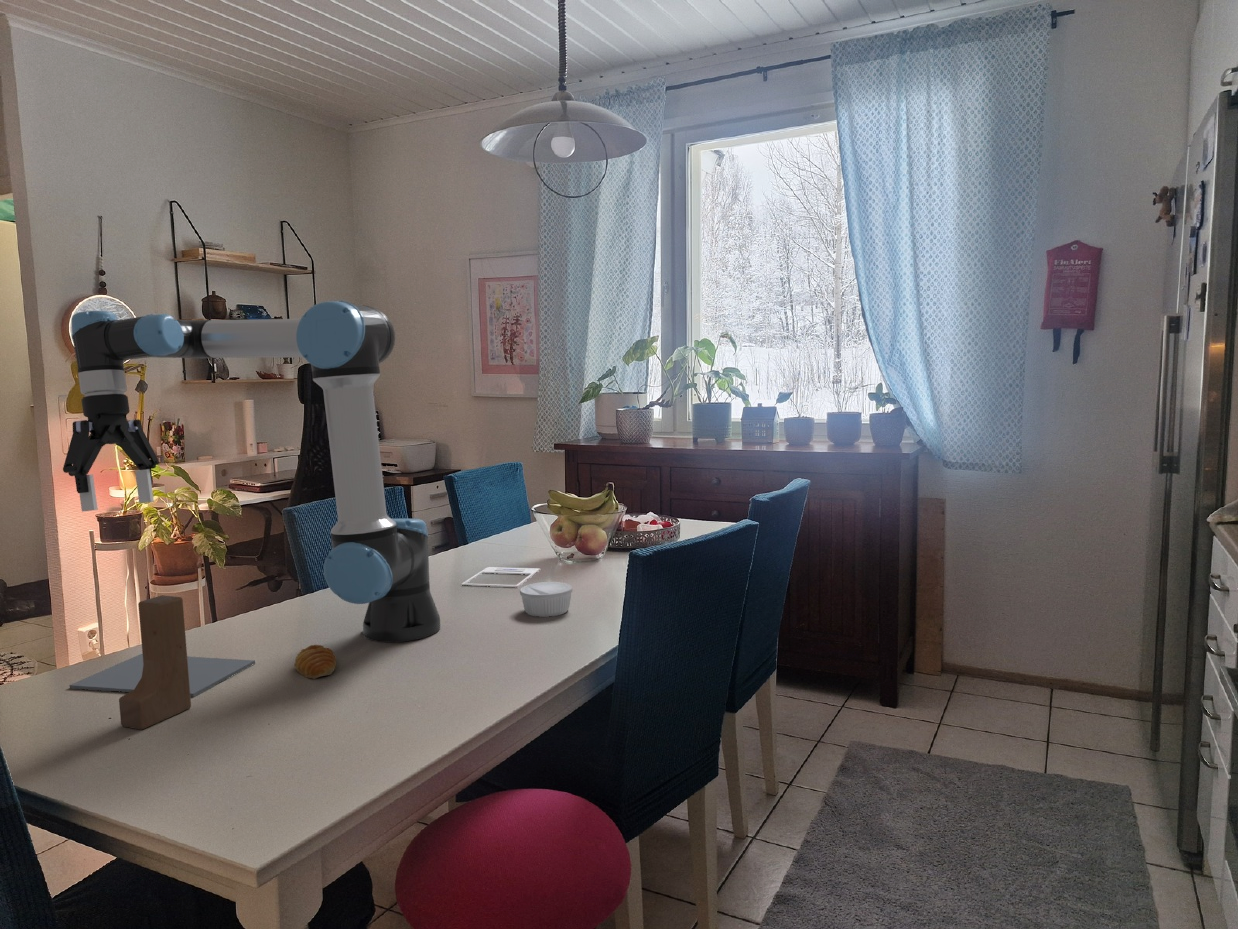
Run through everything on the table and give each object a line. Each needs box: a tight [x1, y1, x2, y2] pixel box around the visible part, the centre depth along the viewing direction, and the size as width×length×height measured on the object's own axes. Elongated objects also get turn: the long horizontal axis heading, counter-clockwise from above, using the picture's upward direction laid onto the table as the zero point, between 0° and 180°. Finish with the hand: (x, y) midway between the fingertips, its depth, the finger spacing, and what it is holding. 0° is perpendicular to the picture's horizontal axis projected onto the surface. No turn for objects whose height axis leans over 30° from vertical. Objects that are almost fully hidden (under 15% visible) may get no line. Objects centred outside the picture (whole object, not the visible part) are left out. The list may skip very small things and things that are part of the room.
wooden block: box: [118, 594, 192, 731], centre depth 128 cm, size 9×4×18 cm, turn 159°
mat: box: [69, 653, 256, 698], centre depth 147 cm, size 24×16×1 cm, turn 78°
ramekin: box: [519, 581, 573, 618], centre depth 182 cm, size 11×11×5 cm
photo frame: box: [460, 566, 541, 589], centre depth 213 cm, size 15×1×18 cm
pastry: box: [294, 644, 337, 679], centre depth 148 cm, size 9×7×4 cm
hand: (119, 506), depth 159 cm, fingers open, 13 cm apart
